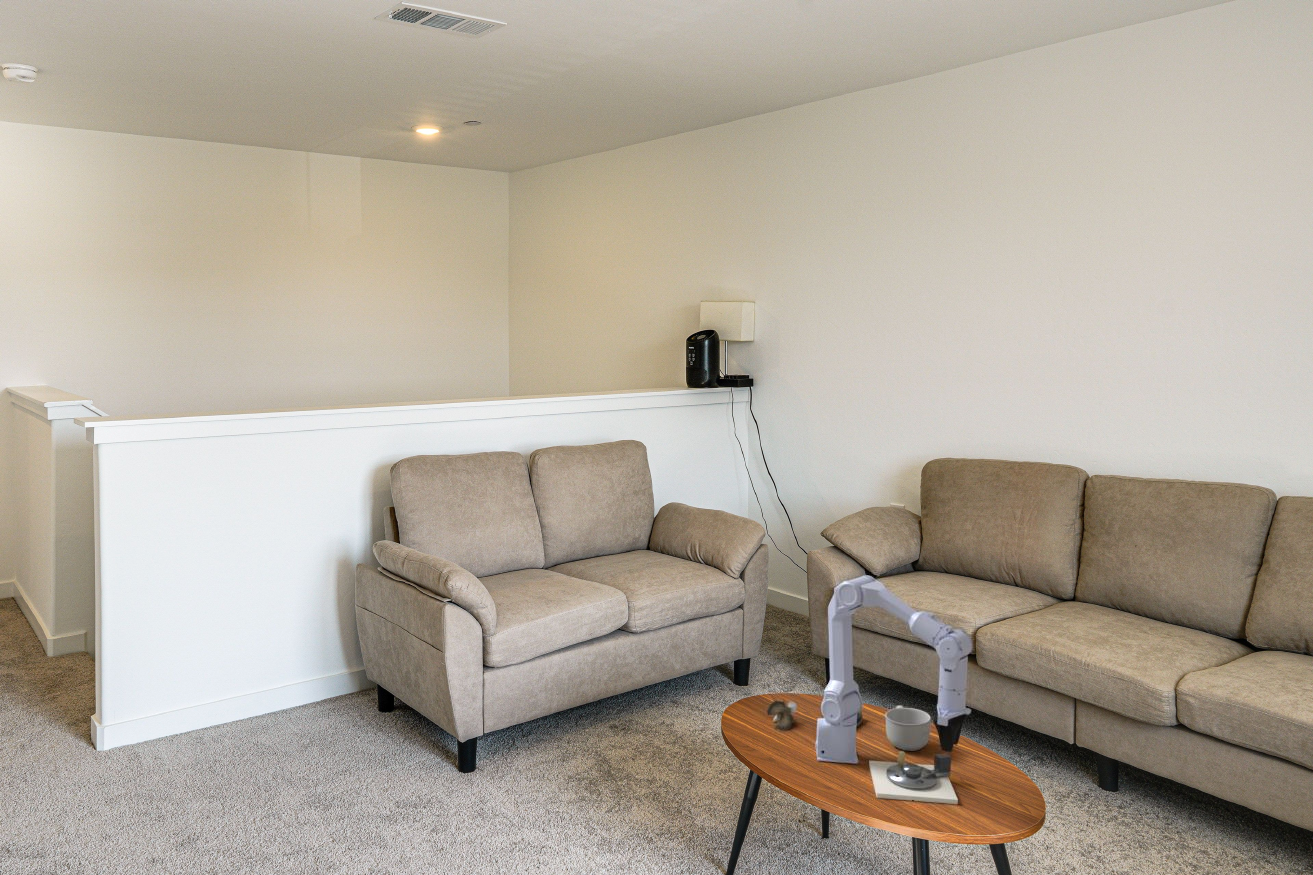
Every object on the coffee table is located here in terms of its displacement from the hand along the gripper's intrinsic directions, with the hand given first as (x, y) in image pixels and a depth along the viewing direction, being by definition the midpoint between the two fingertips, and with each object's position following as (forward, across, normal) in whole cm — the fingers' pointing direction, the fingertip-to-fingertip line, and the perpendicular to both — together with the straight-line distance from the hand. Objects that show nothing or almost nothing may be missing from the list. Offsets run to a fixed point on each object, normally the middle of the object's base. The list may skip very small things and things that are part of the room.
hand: (949, 747), depth 202 cm
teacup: (+11, +22, +16) cm, 29 cm away
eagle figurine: (+11, +15, +47) cm, 51 cm away
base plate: (+10, 0, +8) cm, 13 cm away
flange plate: (+9, +2, +7) cm, 11 cm away
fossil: (+11, +25, +34) cm, 44 cm away
